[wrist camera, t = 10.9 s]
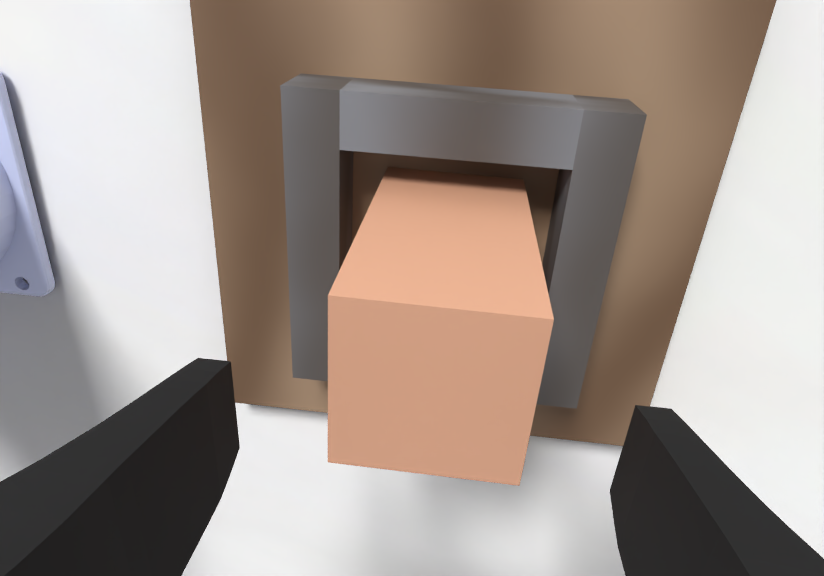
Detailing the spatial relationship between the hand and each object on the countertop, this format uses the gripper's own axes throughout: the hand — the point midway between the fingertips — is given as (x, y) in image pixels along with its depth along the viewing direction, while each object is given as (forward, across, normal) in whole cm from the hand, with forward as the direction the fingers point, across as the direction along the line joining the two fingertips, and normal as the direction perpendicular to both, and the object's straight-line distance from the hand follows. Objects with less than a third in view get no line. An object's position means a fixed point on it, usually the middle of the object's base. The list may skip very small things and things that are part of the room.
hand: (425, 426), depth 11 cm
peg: (+9, 0, 0) cm, 9 cm away
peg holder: (+10, 0, 0) cm, 10 cm away
